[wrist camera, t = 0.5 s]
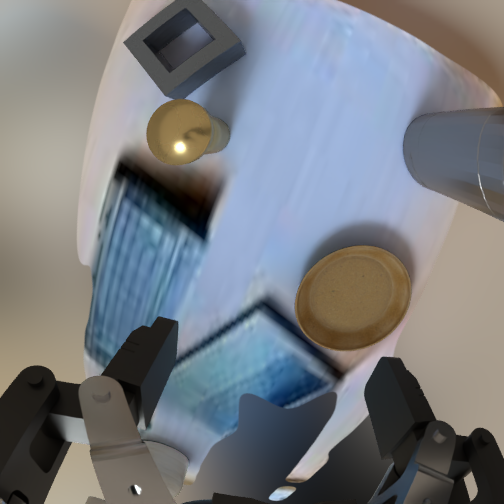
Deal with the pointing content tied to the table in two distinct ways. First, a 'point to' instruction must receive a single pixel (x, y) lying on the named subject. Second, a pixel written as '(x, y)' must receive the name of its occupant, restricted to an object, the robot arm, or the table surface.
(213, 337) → the table surface
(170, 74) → the box
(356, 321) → the plant saucer
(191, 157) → the brass flared peg
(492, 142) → the robot arm
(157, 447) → the lamp
